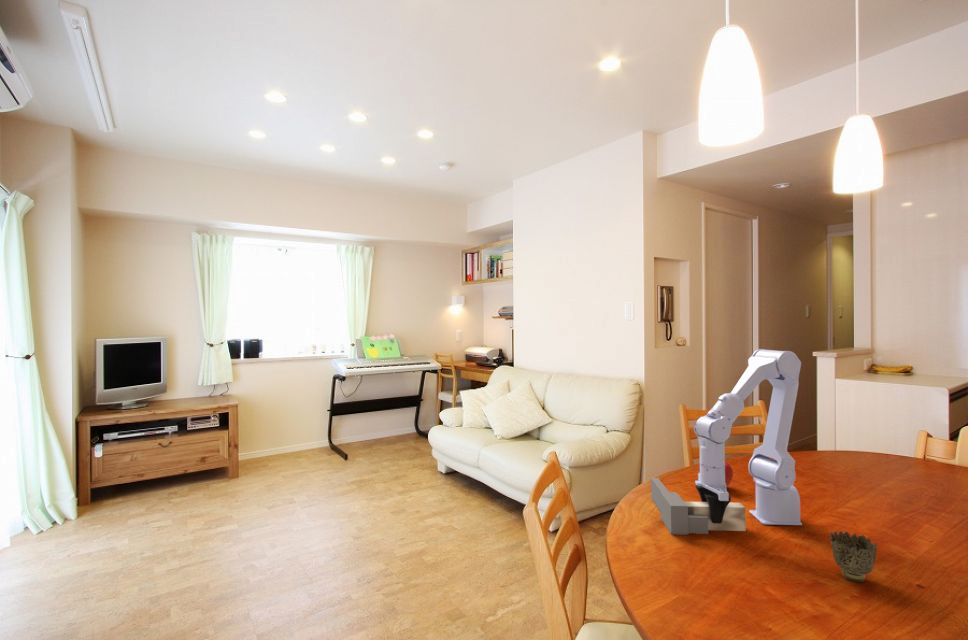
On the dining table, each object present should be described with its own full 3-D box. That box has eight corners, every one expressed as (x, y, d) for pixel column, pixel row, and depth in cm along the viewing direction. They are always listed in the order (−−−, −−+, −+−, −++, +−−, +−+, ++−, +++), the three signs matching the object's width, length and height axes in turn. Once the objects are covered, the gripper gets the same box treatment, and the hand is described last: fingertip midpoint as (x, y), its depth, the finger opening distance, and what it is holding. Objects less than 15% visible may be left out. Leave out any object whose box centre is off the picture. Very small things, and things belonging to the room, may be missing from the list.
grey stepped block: (679, 498, 137) (679, 474, 137) (709, 535, 115) (709, 506, 115) (647, 498, 138) (647, 474, 138) (671, 534, 115) (670, 505, 115)
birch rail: (740, 526, 120) (739, 502, 120) (745, 531, 117) (745, 507, 117) (682, 524, 121) (682, 501, 121) (686, 530, 118) (686, 506, 118)
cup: (886, 590, 91) (885, 549, 91) (842, 587, 92) (842, 546, 92) (863, 570, 98) (863, 532, 98) (823, 567, 100) (823, 529, 99)
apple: (722, 494, 140) (722, 461, 140) (698, 486, 147) (697, 454, 147) (738, 489, 144) (738, 456, 144) (714, 481, 151) (713, 450, 151)
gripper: (686, 456, 126) (686, 506, 126) (706, 474, 112) (707, 531, 112) (713, 456, 126) (714, 507, 126) (737, 474, 111) (738, 532, 111)
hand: (712, 518), depth 119 cm, fingers open, 4 cm apart
